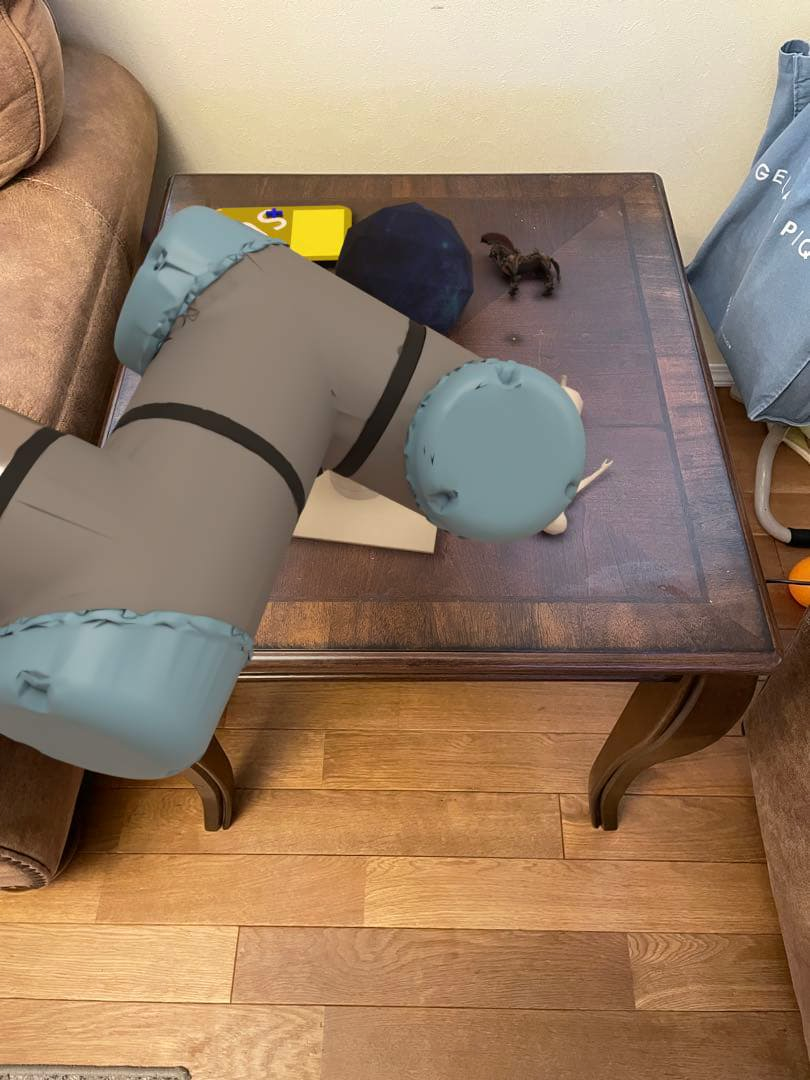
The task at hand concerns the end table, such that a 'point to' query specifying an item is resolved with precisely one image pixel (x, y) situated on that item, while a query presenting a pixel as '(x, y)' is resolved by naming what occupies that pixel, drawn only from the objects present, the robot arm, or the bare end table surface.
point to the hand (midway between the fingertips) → (365, 426)
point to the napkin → (362, 521)
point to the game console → (300, 228)
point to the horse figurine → (520, 262)
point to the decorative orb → (410, 264)
